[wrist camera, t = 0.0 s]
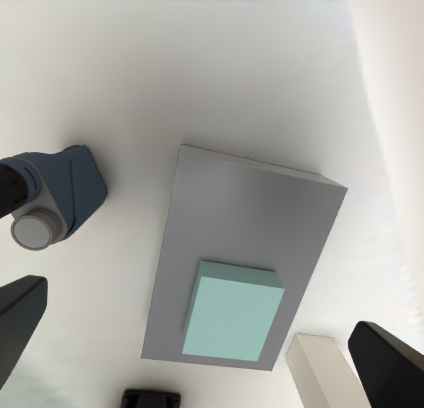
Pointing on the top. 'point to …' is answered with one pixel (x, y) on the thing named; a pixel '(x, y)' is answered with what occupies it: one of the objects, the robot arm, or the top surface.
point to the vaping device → (49, 194)
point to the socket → (237, 241)
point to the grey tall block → (323, 374)
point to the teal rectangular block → (231, 311)
